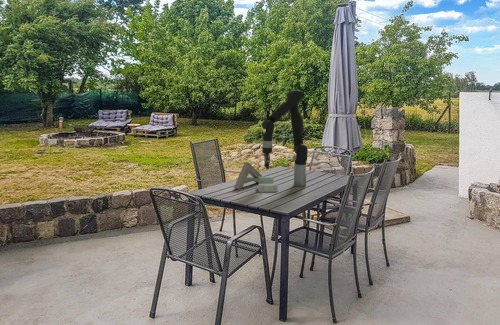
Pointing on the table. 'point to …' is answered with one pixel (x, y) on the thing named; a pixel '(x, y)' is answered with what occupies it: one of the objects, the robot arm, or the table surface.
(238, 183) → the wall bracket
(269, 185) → the rail
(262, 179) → the tapered block
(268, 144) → the robot arm
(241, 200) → the table surface
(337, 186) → the table surface
